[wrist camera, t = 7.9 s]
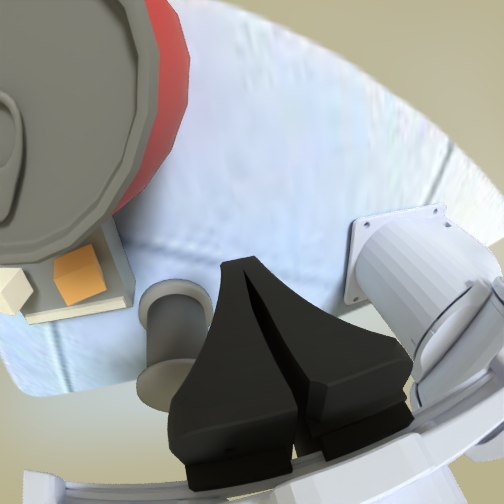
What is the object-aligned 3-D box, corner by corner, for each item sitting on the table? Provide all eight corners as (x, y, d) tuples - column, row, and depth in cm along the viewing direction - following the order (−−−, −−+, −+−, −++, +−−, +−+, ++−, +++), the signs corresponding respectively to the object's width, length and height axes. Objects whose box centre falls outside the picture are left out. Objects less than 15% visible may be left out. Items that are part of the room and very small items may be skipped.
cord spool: (204, 271, 20) (221, 356, 14) (217, 325, 23) (235, 404, 17) (129, 287, 19) (121, 373, 13) (151, 338, 22) (155, 418, 16)
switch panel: (97, 164, 14) (84, 181, 12) (135, 281, 19) (132, 310, 17) (-9, 201, 13) (-30, 222, 11) (38, 300, 18) (28, 328, 15)
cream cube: (21, 267, 13) (0, 292, 11) (33, 291, 14) (15, 315, 12) (0, 267, 13) (-19, 289, 11) (12, 289, 14) (-5, 311, 12)
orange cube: (91, 243, 14) (94, 262, 12) (101, 269, 15) (106, 289, 13) (54, 259, 13) (53, 279, 12) (66, 284, 14) (67, 306, 12)
